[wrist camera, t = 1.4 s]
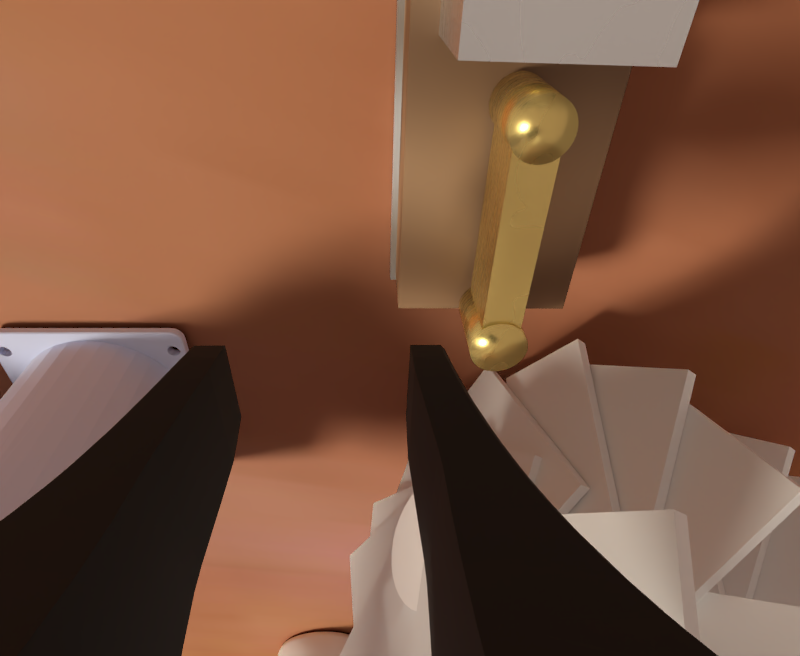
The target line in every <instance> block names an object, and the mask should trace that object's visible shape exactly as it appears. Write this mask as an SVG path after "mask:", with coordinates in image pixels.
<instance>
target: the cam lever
mask: <svg viewBox="0 0 800 656" xmlns="http://www.w3.org/2000/svg"><path fill="white" fill-rule="evenodd" d="M489 115H490V118H491V120H492V122H493V123H494V131H493V137H492V144H491V151H490V158H489V165H488V172H487V179H486V186H485V193H484V200H483V207H482V213H481V220H480V227H479V234H478V241H477V248H476V255H475V262H474V269H473V276H472V283H471V287H470V288H469V289H468V290H466V291H465V292H464V294H463V295H462V297H461V298H460V301H459V311H460V315H461V319H462V324H463V328H464V332H465V336H466V340H467V344H468V348H469V352H470V356H471V359H472V361H473V363H474V364H475V365H476V366H478V367H479V368H481V369H484V370H487V371H502V370H506V369H509V368H511V367H513V366H515V365H516V364H518V363H519V362H520V361H521V360H522V359H523V357H524V356H525V354H526V352H527V348H528V343H527V339H526V337H525V334H524V332H523V329H522V327H521V326H522V322H523V317H524V313H525V309H526V304H527V300H528V296H529V291H530V287H531V283H532V278H533V274H534V270H535V265H536V261H537V257H538V252H539V248H540V244H541V239H542V235H543V231H544V226H545V222H546V218H547V213H548V209H549V205H550V200H551V196H552V192H553V188H554V183H555V179H556V175H557V170H558V166H559V162H560V157H561V156H562V155H563V154H564V153H565V152H566V151H567V150H568V149H569V148H570V146H571V145H572V143H573V142H574V140H575V137H576V134H577V131H578V114H577V111H576V109H575V107H574V105H573V104H572V103H571V102H570V101H569V100H568V99H567V98H566V97H565V96H563V95H562V94H561V93H559V92H558V91H557V90H556V89H554V88H553V87H552V86H551V85H549V84H548V83H547V82H545V81H544V80H543V79H542V78H540V77H539V76H538V75H536V74H535V73H532V72H530V71H516V72H513V73H510V74H508V75H506V76H505V77H504V78H502V79H501V80H500V81H499V82H498V83H497V85H496V86H495V87H494V89H493V91H492V93H491V96H490V99H489Z"/></svg>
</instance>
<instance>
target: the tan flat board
mask: <svg viewBox="0 0 800 656" xmlns="http://www.w3.org/2000/svg"><path fill="white" fill-rule="evenodd" d="M440 11H441V0H397V22H396V60H395V97H394V135H393V173H392V210H391V248H390V280H396V285H397V299H398V308H459V301H460V298H461V297H462V295H463V294H464V292H465V291H466V290H468V289H469V288H470V287H471V283H472V276H473V269H474V262H475V255H476V248H477V241H478V234H479V227H480V220H481V213H482V207H483V200H484V193H485V186H486V179H487V172H488V165H489V158H490V151H491V144H492V137H493V131H494V123H493V122H492V120H491V118H490V115H489V99H490V96H491V93H492V91H493V89H494V87H495V86H496V85H497V83H498V82H499V81H500V80H501V79H502V78H504V77H505V76H506V75H508V74H510V73H513V72H516V71H530V72H532V73H535V74H536V75H538V76H539V77H540V78H542V79H543V80H544V81H545V82H547V83H548V84H549V85H551V86H552V87H553V88H554V89H556V90H557V91H558V92H559V93H561V94H562V95H563V96H565V97H566V98H567V99H568V100H569V101H570V102H571V103H572V104H573V105H574V107H575V109H576V111H577V114H578V131H577V134H576V137H575V140H574V142H573V143H572V145H571V146H570V148H569V149H568V150H567V151H566V152H565V153H564V154H563V155H562V156H561V157H560V162H559V166H558V170H557V175H556V179H555V183H554V188H553V192H552V196H551V200H550V205H549V209H548V213H547V218H546V222H545V226H544V231H543V235H542V239H541V244H540V248H539V252H538V257H537V261H536V265H535V270H534V274H533V278H532V283H531V287H530V291H529V296H528V300H527V304H526V308H563V306H564V302H565V299H566V295H567V292H568V288H569V285H570V281H571V278H572V274H573V271H574V267H575V264H576V260H577V257H578V254H579V250H580V247H581V243H582V240H583V236H584V233H585V229H586V226H587V222H588V219H589V215H590V212H591V208H592V205H593V201H594V198H595V194H596V191H597V187H598V184H599V180H600V177H601V173H602V170H603V166H604V163H605V159H606V156H607V152H608V149H609V145H610V142H611V138H612V135H613V131H614V128H615V124H616V121H617V118H618V114H619V111H620V107H621V104H622V100H623V97H624V93H625V90H626V86H627V83H628V79H629V76H630V72H631V69H632V66H618V65H586V64H554V63H522V62H490V61H458V60H457V59H456V57H455V56H454V55H453V53H452V52H451V51H450V49H449V48H448V47H447V45H446V44H445V43H444V41H443V40H442V39H441V37H440V36H439V25H440Z"/></svg>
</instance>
